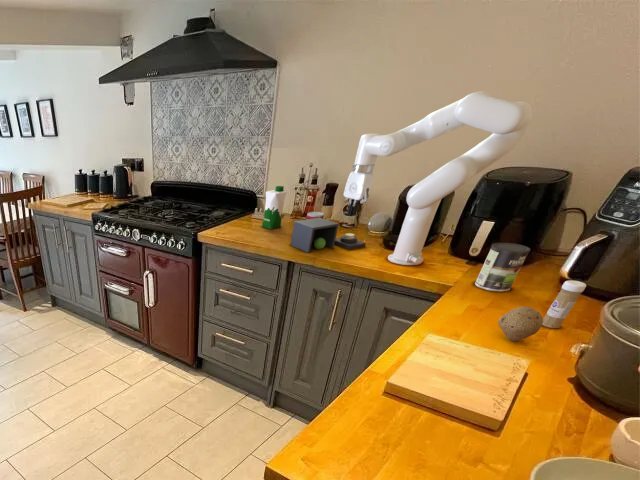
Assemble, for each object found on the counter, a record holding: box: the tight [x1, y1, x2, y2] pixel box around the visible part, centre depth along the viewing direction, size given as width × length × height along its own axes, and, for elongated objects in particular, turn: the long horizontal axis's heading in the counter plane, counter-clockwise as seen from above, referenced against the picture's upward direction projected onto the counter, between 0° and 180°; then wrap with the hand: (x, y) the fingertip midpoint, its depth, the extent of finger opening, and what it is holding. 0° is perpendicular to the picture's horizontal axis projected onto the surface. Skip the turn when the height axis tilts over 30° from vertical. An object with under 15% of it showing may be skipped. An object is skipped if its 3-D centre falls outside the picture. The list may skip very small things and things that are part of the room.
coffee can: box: [474, 242, 531, 293], centre depth 144 cm, size 10×10×14 cm
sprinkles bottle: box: [542, 279, 587, 329], centre depth 119 cm, size 5×5×13 cm
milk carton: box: [261, 185, 288, 230], centre depth 219 cm, size 9×9×20 cm
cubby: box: [289, 218, 340, 253], centre depth 191 cm, size 13×14×11 cm
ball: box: [313, 238, 326, 250], centre depth 189 cm, size 5×5×5 cm
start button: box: [344, 232, 356, 239], centre depth 191 cm, size 4×4×2 cm
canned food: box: [305, 211, 325, 220], centre depth 204 cm, size 8×8×11 cm
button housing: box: [334, 235, 366, 251], centre depth 192 cm, size 12×9×4 cm
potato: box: [497, 306, 544, 342], centre depth 115 cm, size 9×9×10 cm
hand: (351, 215), depth 179 cm, fingers closed
